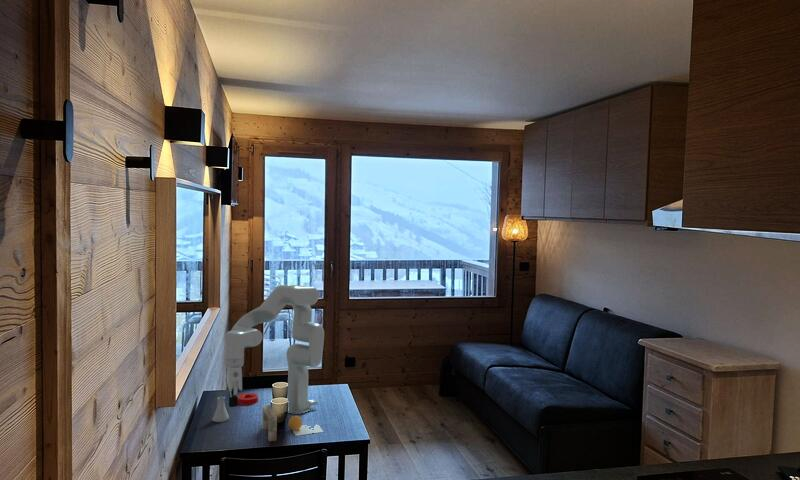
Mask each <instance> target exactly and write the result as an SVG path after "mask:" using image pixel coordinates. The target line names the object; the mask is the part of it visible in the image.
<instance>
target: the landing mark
mask: <svg viewBox="0 0 800 480" xmlns="http://www.w3.org/2000/svg"><path fill="white" fill-rule="evenodd" d="M317 424H318V423H317ZM317 424H316V425H315V426H314V428H311V429H309V427H311V426H307V425H302V426H301V428H299V429H298V430H292V429H291V430H292V432H293V433H294V435H295V436H296V437H299V436H306V435H312V433H314V434H319V433H320V434H321V433H324V430H323V428H321V426H320V425H319V424H318V425H317ZM305 426H306V427H305ZM312 429H314V430H312Z"/></svg>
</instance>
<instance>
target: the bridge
mask: <svg viewBox="0 0 800 480" xmlns="http://www.w3.org/2000/svg"><path fill="white" fill-rule="evenodd" d="M261 426H262V430H264V431H266V430H267V434H268V436H267V440H268V442H275V441H277V437H278V436H277V432H278V429H277V427H278V416H277V415H276V413H275V412H274V410H273V408H272V406H271V405H270V404H269V405H262V425H261Z"/></svg>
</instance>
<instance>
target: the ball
mask: <svg viewBox="0 0 800 480" xmlns="http://www.w3.org/2000/svg"><path fill="white" fill-rule="evenodd" d="M287 424H288V427H289V429H291V430H298V429H299V428H301V426H302V424H303V419H302V418H301V416H299V415H293V416H291V417H290V418H289V419H288V423H287Z"/></svg>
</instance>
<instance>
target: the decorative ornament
mask: <svg viewBox="0 0 800 480" xmlns="http://www.w3.org/2000/svg"><path fill="white" fill-rule="evenodd" d="M257 403H259V395H258V394H257V393H252V392H249V393H248V392H247V393H241V394H238V405H243V406H251V405H255V404H257Z"/></svg>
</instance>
